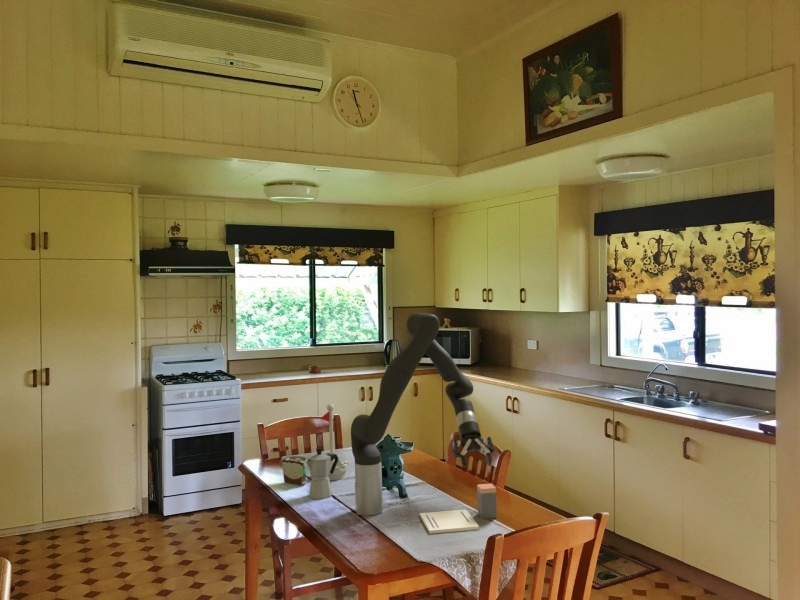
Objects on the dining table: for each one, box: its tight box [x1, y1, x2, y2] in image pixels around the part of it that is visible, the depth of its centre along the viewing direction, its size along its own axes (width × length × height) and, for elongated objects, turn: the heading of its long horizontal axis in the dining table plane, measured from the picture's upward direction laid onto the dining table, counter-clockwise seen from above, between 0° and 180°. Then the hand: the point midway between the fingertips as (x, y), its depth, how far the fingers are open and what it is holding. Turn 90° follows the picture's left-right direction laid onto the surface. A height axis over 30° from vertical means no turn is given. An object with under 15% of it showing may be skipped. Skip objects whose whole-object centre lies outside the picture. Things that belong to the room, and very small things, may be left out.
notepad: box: [419, 508, 480, 535], centre depth 218 cm, size 16×16×1 cm
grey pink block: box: [476, 482, 498, 520], centre depth 223 cm, size 5×5×10 cm
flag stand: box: [320, 403, 349, 481], centre depth 274 cm, size 13×13×30 cm
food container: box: [280, 455, 308, 487], centre depth 267 cm, size 12×6×10 cm, turn 58°
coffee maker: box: [305, 447, 339, 500], centre depth 250 cm, size 15×9×18 cm, turn 131°
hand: (477, 465), depth 233 cm, fingers open, 8 cm apart
